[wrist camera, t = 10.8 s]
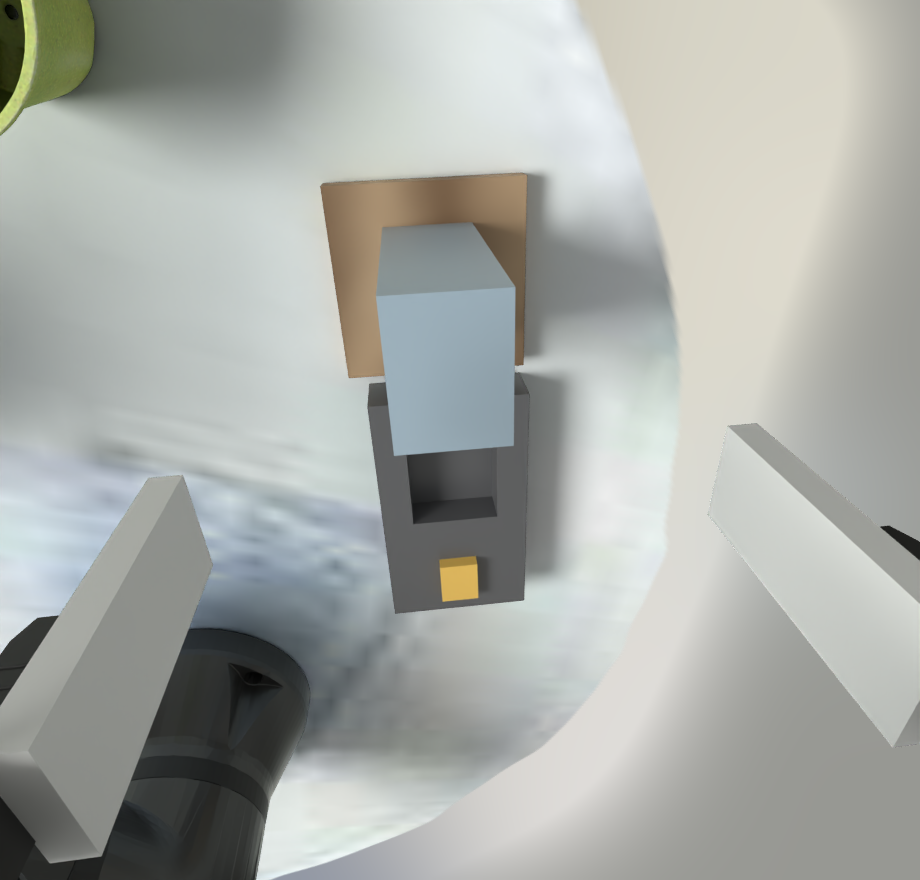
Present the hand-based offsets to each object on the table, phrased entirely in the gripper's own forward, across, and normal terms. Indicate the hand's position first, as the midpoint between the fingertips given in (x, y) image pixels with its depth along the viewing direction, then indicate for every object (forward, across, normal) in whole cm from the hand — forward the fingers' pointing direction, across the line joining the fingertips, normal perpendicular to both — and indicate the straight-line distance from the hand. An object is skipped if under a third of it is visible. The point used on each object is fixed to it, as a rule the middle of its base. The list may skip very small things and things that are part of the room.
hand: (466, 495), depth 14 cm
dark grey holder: (+20, -1, +14) cm, 24 cm away
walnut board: (+20, 0, 0) cm, 20 cm away
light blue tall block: (+19, 0, 0) cm, 19 cm away
